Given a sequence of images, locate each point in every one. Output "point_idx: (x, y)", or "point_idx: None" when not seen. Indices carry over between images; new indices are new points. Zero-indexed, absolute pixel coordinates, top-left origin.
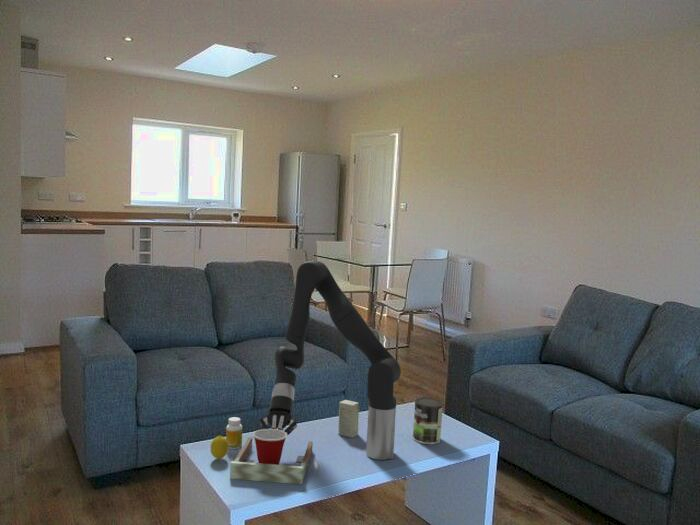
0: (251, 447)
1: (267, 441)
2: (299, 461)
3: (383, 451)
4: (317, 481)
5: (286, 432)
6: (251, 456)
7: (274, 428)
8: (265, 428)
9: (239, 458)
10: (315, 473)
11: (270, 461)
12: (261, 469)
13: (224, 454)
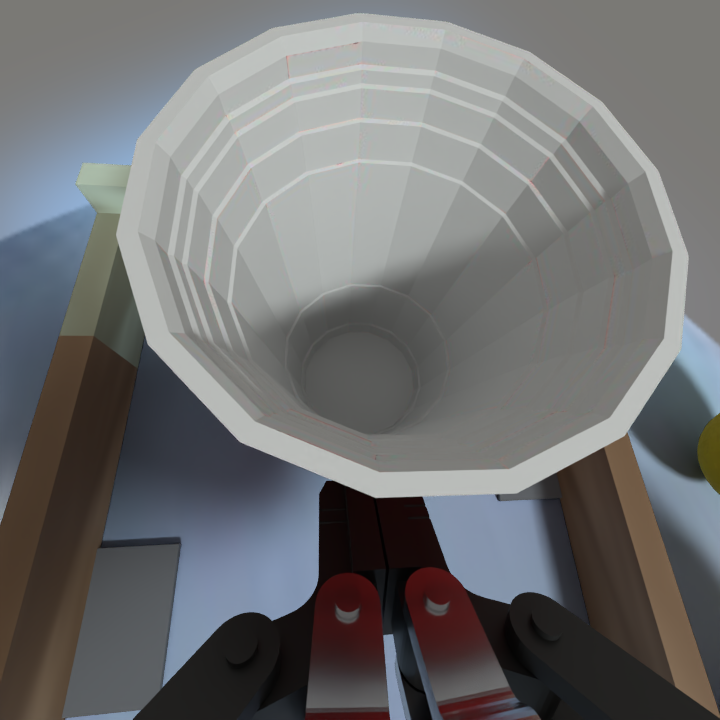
0: None
1: (390, 62)
2: (145, 560)
3: None
4: (36, 284)
5: (190, 674)
6: (544, 578)
7: (472, 713)
8: (654, 697)
9: None
10: (32, 384)
11: (340, 269)
12: None
13: (706, 434)
